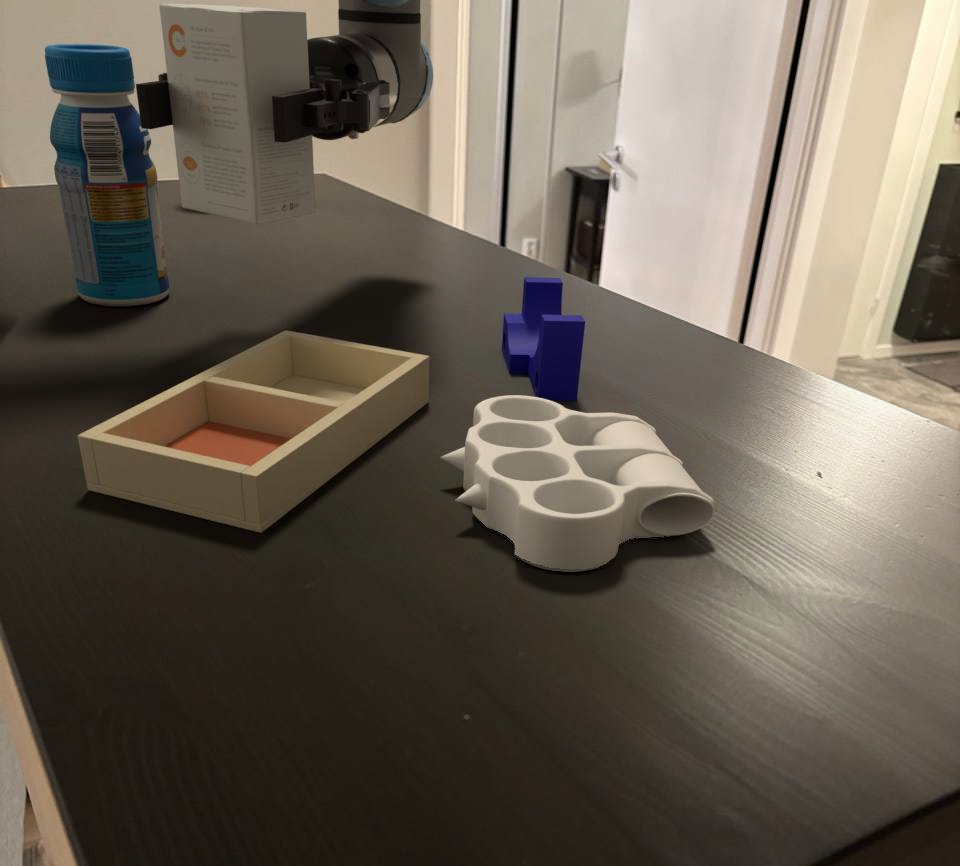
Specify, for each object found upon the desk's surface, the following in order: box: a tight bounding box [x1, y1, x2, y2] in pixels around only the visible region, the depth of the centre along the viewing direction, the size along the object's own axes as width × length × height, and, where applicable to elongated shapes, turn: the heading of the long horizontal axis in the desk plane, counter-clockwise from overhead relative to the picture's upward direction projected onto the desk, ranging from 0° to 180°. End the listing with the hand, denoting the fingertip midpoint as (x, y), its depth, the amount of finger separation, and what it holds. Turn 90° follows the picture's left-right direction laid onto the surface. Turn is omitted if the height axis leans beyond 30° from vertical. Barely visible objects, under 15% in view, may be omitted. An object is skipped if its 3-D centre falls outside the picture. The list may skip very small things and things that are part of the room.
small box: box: [158, 3, 317, 225], centre depth 71 cm, size 8×6×13 cm
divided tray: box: [77, 330, 430, 534], centre depth 65 cm, size 12×23×4 cm, turn 158°
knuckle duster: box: [439, 394, 716, 570], centre depth 60 cm, size 3×18×15 cm
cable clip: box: [501, 276, 586, 402], centre depth 78 cm, size 12×4×6 cm, turn 5°
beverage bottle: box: [44, 43, 171, 308], centre depth 86 cm, size 8×8×20 cm
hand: (209, 113), depth 67 cm, fingers closed on small box, 9 cm apart
